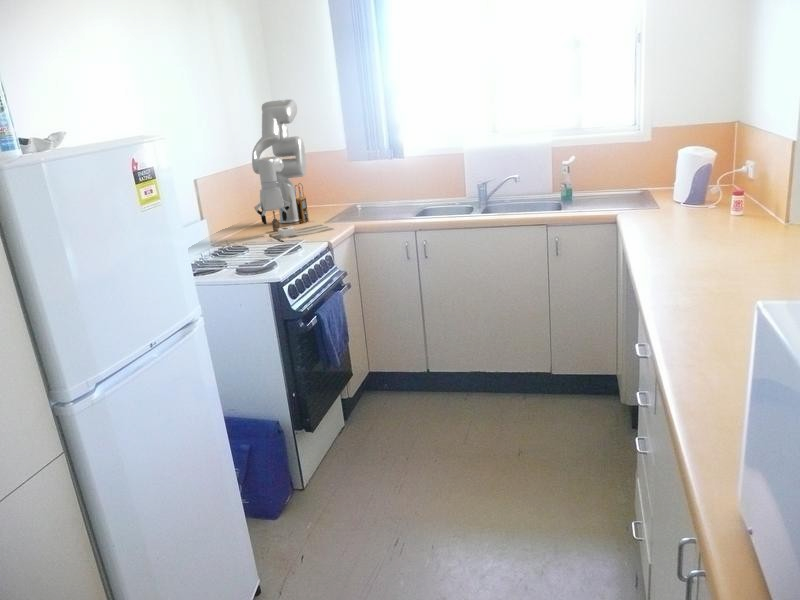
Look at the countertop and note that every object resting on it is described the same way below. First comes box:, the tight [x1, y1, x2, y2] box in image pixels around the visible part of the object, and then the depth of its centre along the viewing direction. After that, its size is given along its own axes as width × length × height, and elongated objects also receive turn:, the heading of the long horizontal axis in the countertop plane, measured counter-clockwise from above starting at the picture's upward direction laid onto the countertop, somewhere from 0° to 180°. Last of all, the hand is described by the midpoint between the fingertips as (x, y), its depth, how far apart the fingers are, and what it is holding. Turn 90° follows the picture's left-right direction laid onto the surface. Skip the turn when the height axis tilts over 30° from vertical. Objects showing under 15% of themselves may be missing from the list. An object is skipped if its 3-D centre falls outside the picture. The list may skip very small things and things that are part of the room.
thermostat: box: [277, 226, 296, 237], centre depth 301 cm, size 6×6×3 cm
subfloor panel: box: [268, 224, 336, 243], centre depth 306 cm, size 18×26×1 cm
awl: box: [271, 210, 280, 233], centre depth 312 cm, size 3×3×11 cm
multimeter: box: [294, 182, 310, 225], centre depth 328 cm, size 15×10×20 cm
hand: (274, 222), depth 311 cm, fingers open, 9 cm apart
